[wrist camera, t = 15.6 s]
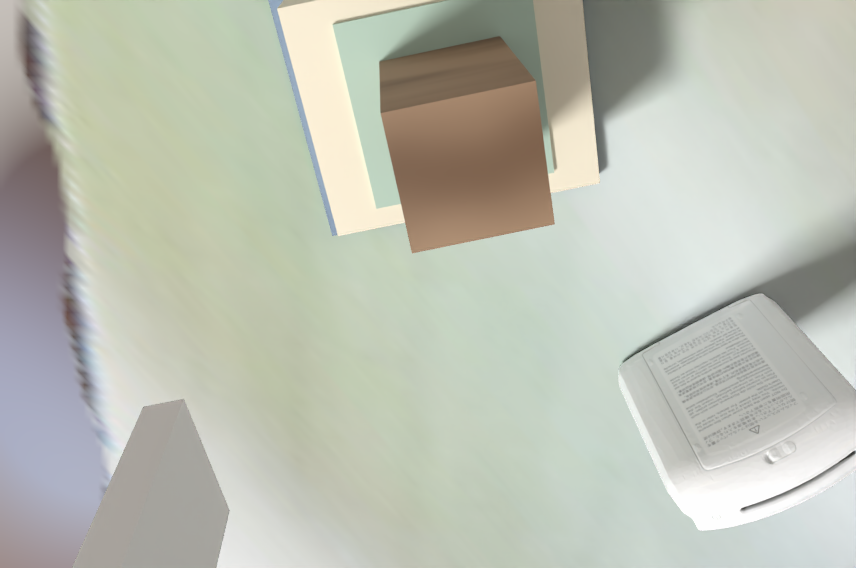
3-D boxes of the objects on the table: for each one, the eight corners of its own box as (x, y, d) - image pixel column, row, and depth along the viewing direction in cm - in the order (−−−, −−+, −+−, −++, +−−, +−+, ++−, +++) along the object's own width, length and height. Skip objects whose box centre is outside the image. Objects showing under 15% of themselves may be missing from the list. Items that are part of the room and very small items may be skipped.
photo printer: (633, 413, 49) (709, 569, 38) (603, 364, 47) (673, 513, 36) (790, 332, 47) (918, 471, 36) (764, 278, 45) (890, 407, 34)
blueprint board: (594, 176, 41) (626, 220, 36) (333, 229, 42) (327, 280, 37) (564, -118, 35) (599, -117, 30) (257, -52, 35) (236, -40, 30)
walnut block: (517, 152, 34) (554, 224, 27) (404, 176, 34) (412, 253, 27) (499, 35, 32) (535, 80, 25) (379, 61, 32) (380, 113, 25)
